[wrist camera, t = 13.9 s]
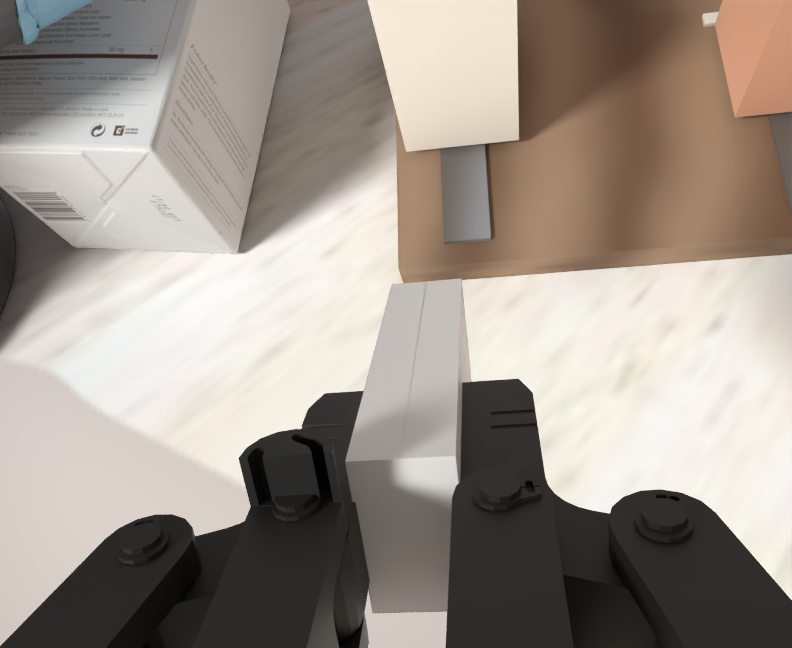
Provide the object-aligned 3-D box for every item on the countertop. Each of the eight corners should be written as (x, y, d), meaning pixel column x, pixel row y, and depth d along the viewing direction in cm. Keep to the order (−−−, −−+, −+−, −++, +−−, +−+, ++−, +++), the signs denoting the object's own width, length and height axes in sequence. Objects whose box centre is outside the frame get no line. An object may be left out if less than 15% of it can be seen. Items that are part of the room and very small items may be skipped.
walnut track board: (404, 284, 33) (397, 266, 32) (399, 37, 39) (393, 11, 37) (887, 246, 31) (907, 225, 29) (813, -15, 36) (826, -46, 34)
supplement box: (71, 251, 37) (146, 14, 42) (240, 259, 35) (297, 11, 40) (-62, 143, 29) (52, -135, 34) (151, 147, 27) (236, -148, 32)
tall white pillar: (406, 151, 34) (365, -8, 25) (404, 62, 35) (365, -115, 27) (518, 140, 33) (516, -29, 24) (511, 49, 35) (506, -137, 26)
